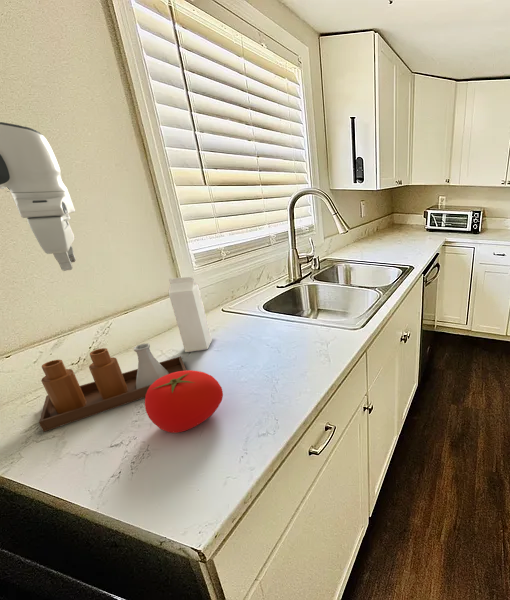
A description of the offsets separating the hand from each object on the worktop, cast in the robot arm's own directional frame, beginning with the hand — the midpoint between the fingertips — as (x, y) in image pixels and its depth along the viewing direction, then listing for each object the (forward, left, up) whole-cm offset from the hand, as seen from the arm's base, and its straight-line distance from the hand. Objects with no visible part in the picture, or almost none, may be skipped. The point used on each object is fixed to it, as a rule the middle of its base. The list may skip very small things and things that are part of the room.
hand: (69, 265), depth 77 cm
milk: (+21, -1, -29) cm, 36 cm away
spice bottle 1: (-7, -15, -29) cm, 33 cm away
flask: (+8, -15, -29) cm, 33 cm away
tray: (+2, -15, -29) cm, 33 cm away
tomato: (+13, -37, -29) cm, 49 cm away
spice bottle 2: (+1, -15, -29) cm, 33 cm away
